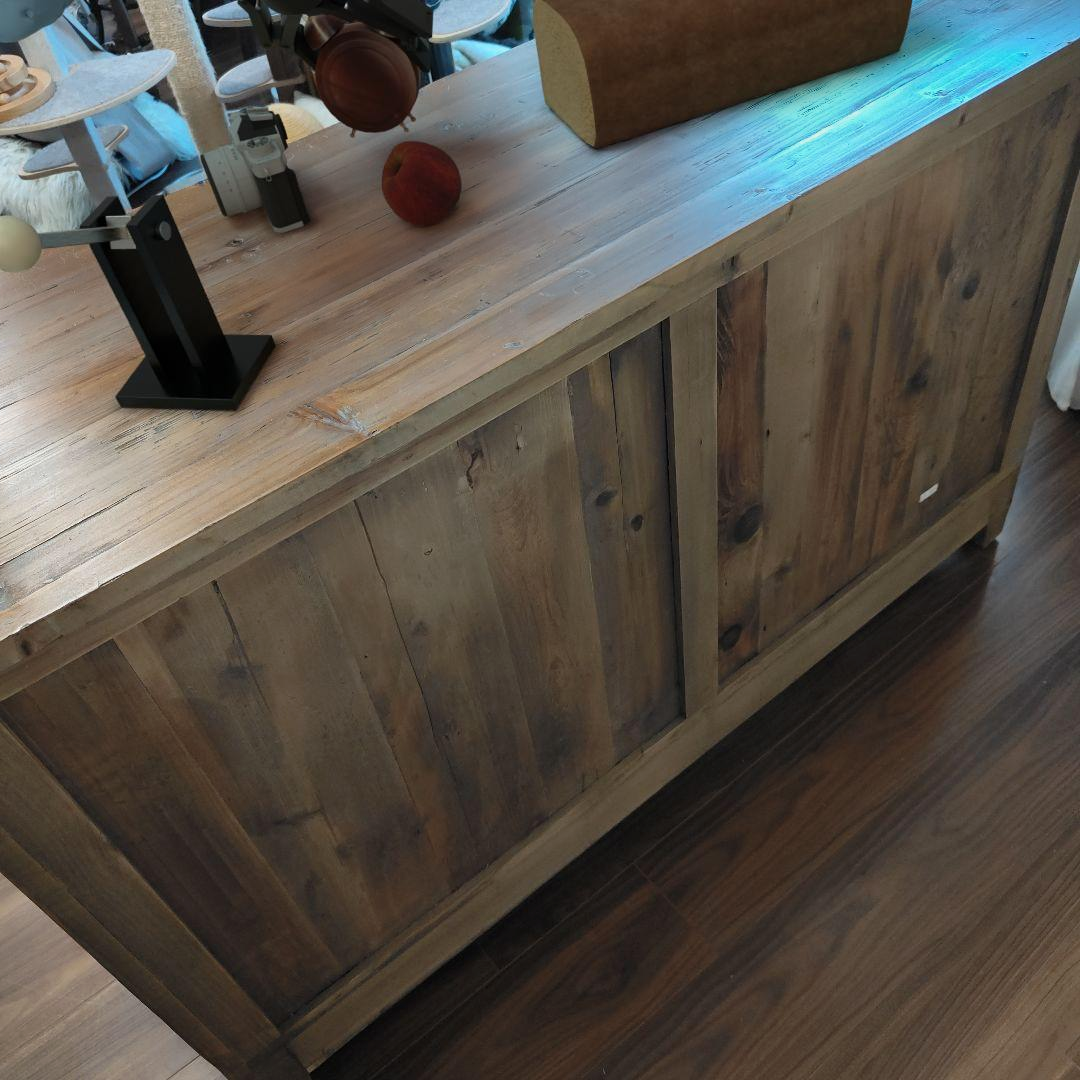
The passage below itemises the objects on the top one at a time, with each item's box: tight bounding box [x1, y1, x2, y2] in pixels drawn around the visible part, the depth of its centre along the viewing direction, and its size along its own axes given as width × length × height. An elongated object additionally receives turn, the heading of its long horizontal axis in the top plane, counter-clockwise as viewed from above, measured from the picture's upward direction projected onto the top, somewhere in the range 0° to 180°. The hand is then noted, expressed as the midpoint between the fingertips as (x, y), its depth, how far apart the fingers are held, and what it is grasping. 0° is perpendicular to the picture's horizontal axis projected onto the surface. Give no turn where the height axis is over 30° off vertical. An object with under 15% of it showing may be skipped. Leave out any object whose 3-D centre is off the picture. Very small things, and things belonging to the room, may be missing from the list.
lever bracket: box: [79, 194, 277, 412], centre depth 82 cm, size 9×11×16 cm
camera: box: [199, 106, 311, 234], centre depth 104 cm, size 16×9×10 cm, turn 23°
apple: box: [381, 140, 463, 227], centre depth 98 cm, size 7×8×8 cm
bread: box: [531, 0, 913, 149], centre depth 109 cm, size 16×39×13 cm, turn 112°
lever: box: [0, 213, 137, 274], centre depth 72 cm, size 16×4×4 cm, turn 168°
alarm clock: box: [303, 14, 422, 139], centre depth 104 cm, size 11×5×15 cm, turn 88°
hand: (376, 62), depth 107 cm, fingers closed on alarm clock, 11 cm apart
